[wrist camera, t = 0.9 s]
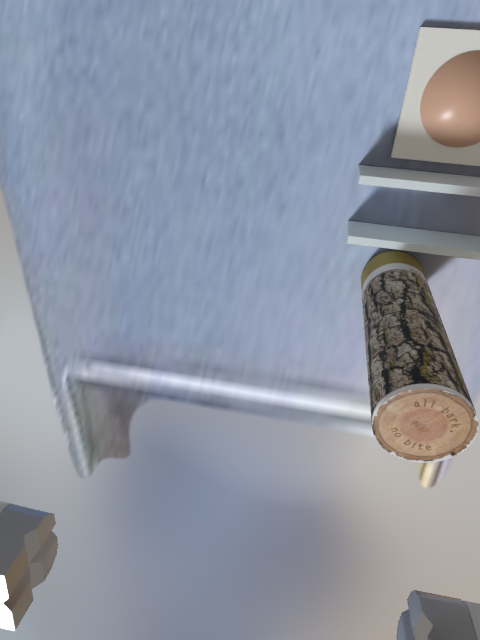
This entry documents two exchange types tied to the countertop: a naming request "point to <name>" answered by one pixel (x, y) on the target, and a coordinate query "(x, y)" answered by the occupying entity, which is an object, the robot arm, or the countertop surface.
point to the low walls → (409, 236)
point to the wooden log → (412, 365)
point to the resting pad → (442, 99)
